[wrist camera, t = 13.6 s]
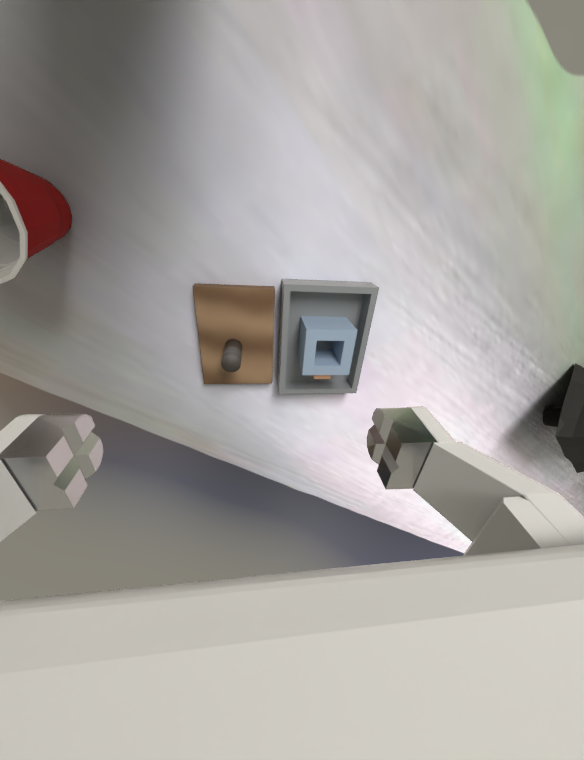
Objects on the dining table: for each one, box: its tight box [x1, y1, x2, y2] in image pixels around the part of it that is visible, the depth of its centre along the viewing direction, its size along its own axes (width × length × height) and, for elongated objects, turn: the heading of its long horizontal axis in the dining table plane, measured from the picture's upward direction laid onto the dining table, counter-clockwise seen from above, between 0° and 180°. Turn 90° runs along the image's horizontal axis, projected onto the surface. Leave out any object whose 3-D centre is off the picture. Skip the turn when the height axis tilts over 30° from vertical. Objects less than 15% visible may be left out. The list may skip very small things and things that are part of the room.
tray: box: [278, 279, 379, 394], centre depth 40 cm, size 16×12×3 cm
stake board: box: [193, 284, 275, 384], centre depth 37 cm, size 14×10×6 cm
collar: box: [297, 316, 358, 379], centre depth 39 cm, size 8×6×5 cm
